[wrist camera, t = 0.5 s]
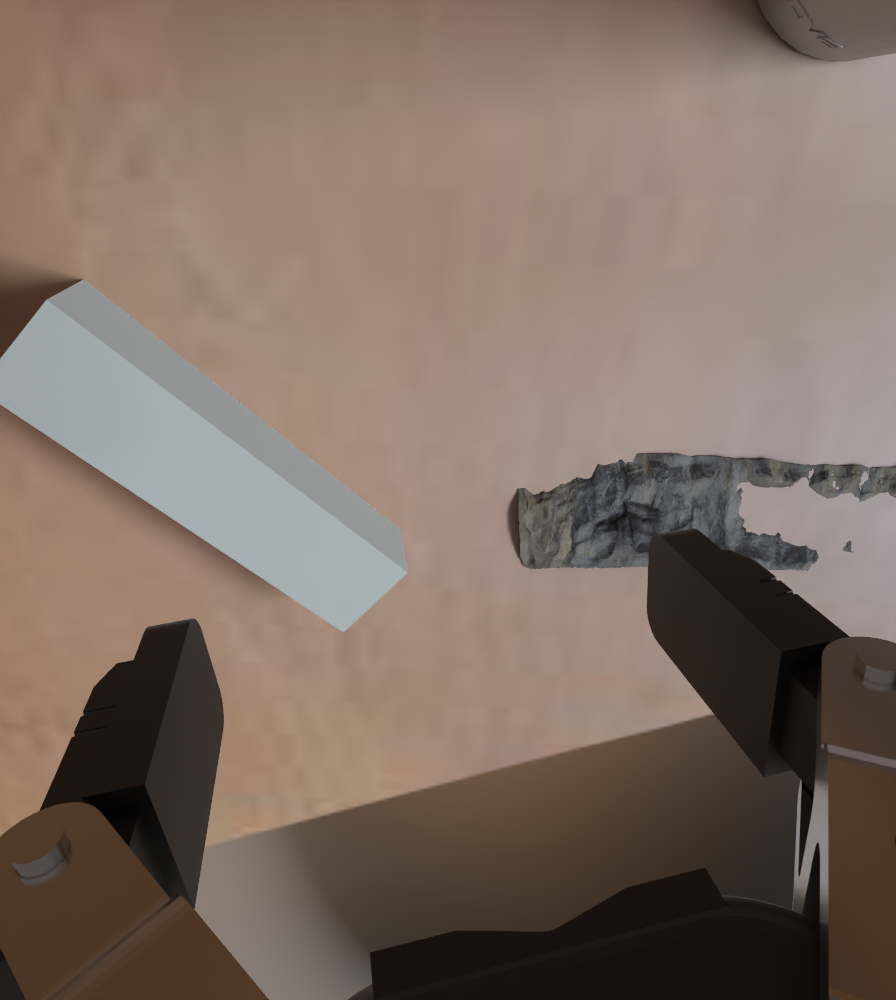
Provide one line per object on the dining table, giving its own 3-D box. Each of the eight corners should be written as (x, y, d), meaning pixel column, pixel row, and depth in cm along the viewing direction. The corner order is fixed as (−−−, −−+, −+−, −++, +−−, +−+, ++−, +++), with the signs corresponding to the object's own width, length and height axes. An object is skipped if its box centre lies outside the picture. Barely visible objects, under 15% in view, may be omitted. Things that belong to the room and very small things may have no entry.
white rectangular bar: (86, 278, 25) (46, 299, 21) (399, 525, 32) (407, 572, 28) (24, 355, 26) (-23, 388, 22) (341, 580, 33) (343, 632, 29)
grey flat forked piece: (497, 558, 34) (508, 582, 32) (521, 432, 31) (535, 451, 29) (849, 566, 38) (876, 588, 36) (900, 457, 35) (932, 474, 33)
